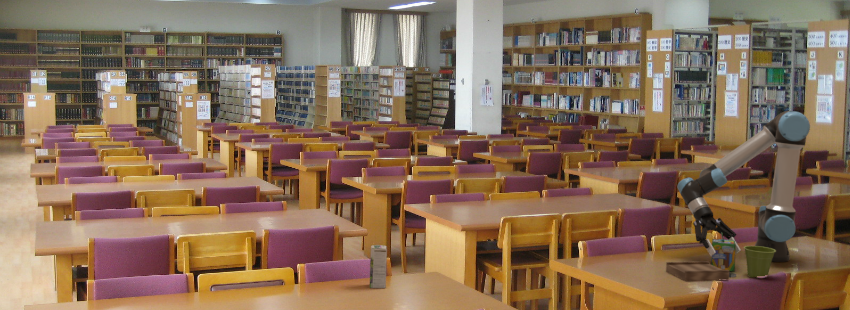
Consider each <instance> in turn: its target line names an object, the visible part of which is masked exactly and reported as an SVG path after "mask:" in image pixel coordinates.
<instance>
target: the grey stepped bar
mask: <svg viewBox="0 0 850 310" xmlns="http://www.w3.org/2000/svg"><path fill="white" fill-rule="evenodd" d="M731 277H732V278H736V277H737V273H736V272H735V273H734V272H732V271H729V278H731Z"/></svg>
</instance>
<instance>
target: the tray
mask: <svg viewBox="0 0 850 310" xmlns="http://www.w3.org/2000/svg"><path fill="white" fill-rule="evenodd" d="M665 272H667V273H668V274H670V275H672V276H674V277H677V278H678V279H680V280H682V281H684V282H705V281H707V282H708V281H711V282H712V280H717V281H720V280H719V279H729V280H730V277H729V272H730V271H729V270H722V269H720V268H717V267H715V266H713V265H711V263H710V261H709V260H707V261H704V260H703V261H700V260H699V261H667V262H666V265H665Z"/></svg>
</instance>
